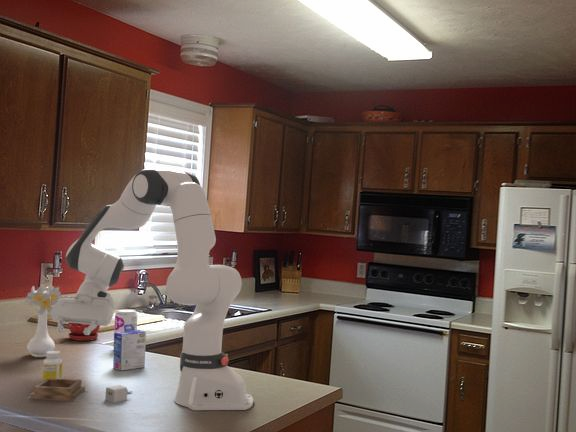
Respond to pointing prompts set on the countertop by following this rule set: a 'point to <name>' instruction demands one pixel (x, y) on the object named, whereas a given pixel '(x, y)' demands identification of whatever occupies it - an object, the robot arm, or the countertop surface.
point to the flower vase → (42, 319)
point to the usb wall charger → (117, 393)
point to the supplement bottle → (52, 365)
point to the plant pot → (78, 332)
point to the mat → (63, 400)
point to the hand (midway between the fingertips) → (72, 332)
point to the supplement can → (125, 320)
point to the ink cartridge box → (129, 349)
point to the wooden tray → (58, 389)
